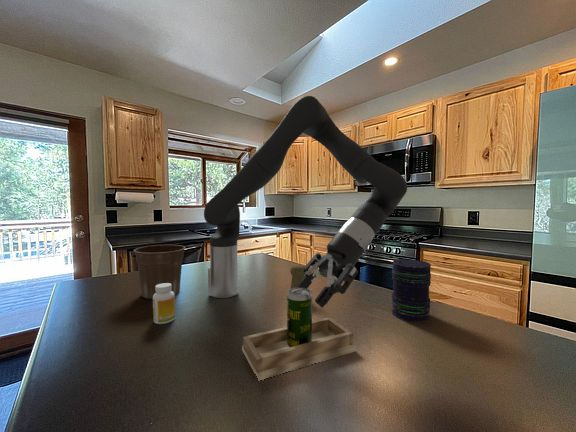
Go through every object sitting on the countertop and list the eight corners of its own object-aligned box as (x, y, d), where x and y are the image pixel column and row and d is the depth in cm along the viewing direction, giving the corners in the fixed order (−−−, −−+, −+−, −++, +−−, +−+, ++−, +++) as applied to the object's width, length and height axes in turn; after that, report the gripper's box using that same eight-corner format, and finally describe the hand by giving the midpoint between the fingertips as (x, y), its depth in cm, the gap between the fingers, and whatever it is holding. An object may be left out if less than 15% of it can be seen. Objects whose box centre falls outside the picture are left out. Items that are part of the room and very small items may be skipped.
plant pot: (195, 287, 100) (194, 244, 99) (168, 303, 84) (167, 253, 83) (156, 285, 103) (155, 243, 102) (123, 300, 87) (121, 251, 86)
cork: (307, 295, 91) (307, 263, 90) (307, 301, 85) (307, 268, 84) (290, 294, 92) (289, 263, 91) (288, 301, 86) (288, 267, 85)
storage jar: (428, 311, 77) (430, 260, 77) (431, 325, 69) (432, 268, 68) (392, 305, 82) (393, 257, 81) (390, 318, 73) (391, 264, 72)
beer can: (297, 337, 61) (297, 285, 60) (316, 345, 58) (316, 290, 57) (281, 346, 57) (281, 292, 56) (302, 356, 53) (302, 297, 53)
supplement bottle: (179, 317, 74) (178, 283, 73) (164, 326, 69) (163, 289, 68) (164, 314, 76) (163, 281, 75) (148, 322, 71) (147, 287, 70)
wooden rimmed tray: (259, 381, 47) (258, 362, 47) (242, 350, 57) (241, 334, 57) (355, 351, 57) (356, 335, 57) (327, 329, 67) (327, 315, 67)
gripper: (324, 228, 67) (283, 278, 63) (362, 234, 54) (314, 298, 50) (341, 247, 69) (302, 297, 65) (382, 257, 57) (337, 320, 52)
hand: (307, 297), depth 57 cm, fingers open, 8 cm apart
